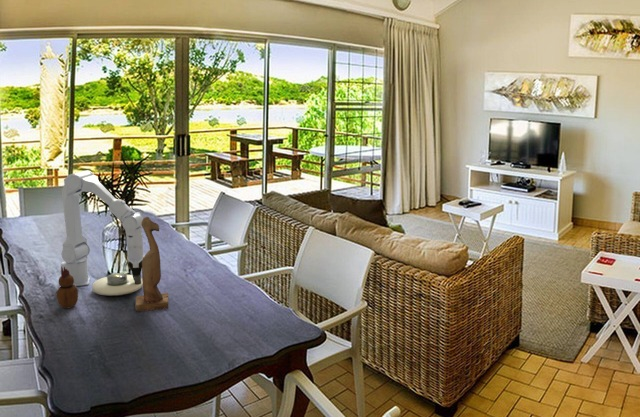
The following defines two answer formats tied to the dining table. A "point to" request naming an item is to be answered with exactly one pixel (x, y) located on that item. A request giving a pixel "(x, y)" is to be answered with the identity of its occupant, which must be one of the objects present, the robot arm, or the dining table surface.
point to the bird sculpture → (151, 273)
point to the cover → (117, 279)
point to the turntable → (105, 289)
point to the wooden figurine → (67, 290)
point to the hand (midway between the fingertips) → (136, 279)
